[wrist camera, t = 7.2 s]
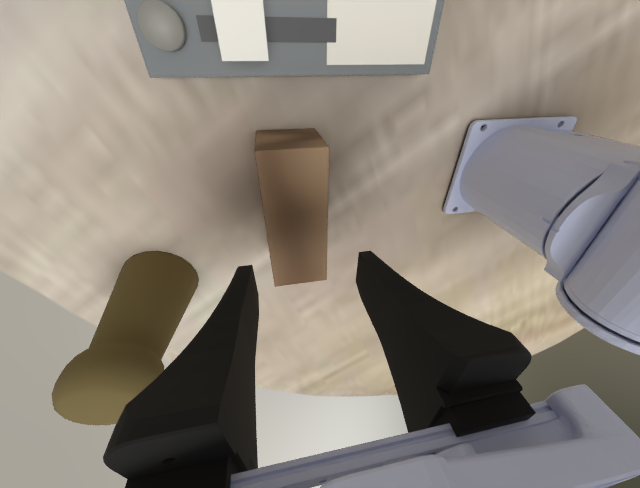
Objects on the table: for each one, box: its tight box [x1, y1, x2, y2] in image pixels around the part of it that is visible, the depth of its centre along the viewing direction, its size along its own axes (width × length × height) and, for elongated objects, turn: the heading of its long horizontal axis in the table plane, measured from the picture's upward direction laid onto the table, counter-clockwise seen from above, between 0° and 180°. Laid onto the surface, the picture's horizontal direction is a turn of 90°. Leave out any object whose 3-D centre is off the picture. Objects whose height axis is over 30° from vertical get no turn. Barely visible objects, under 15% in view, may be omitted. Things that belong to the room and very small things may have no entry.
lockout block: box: [255, 128, 329, 286], centre depth 19 cm, size 4×10×5 cm, turn 0°
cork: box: [52, 251, 199, 425], centre depth 18 cm, size 6×6×11 cm
